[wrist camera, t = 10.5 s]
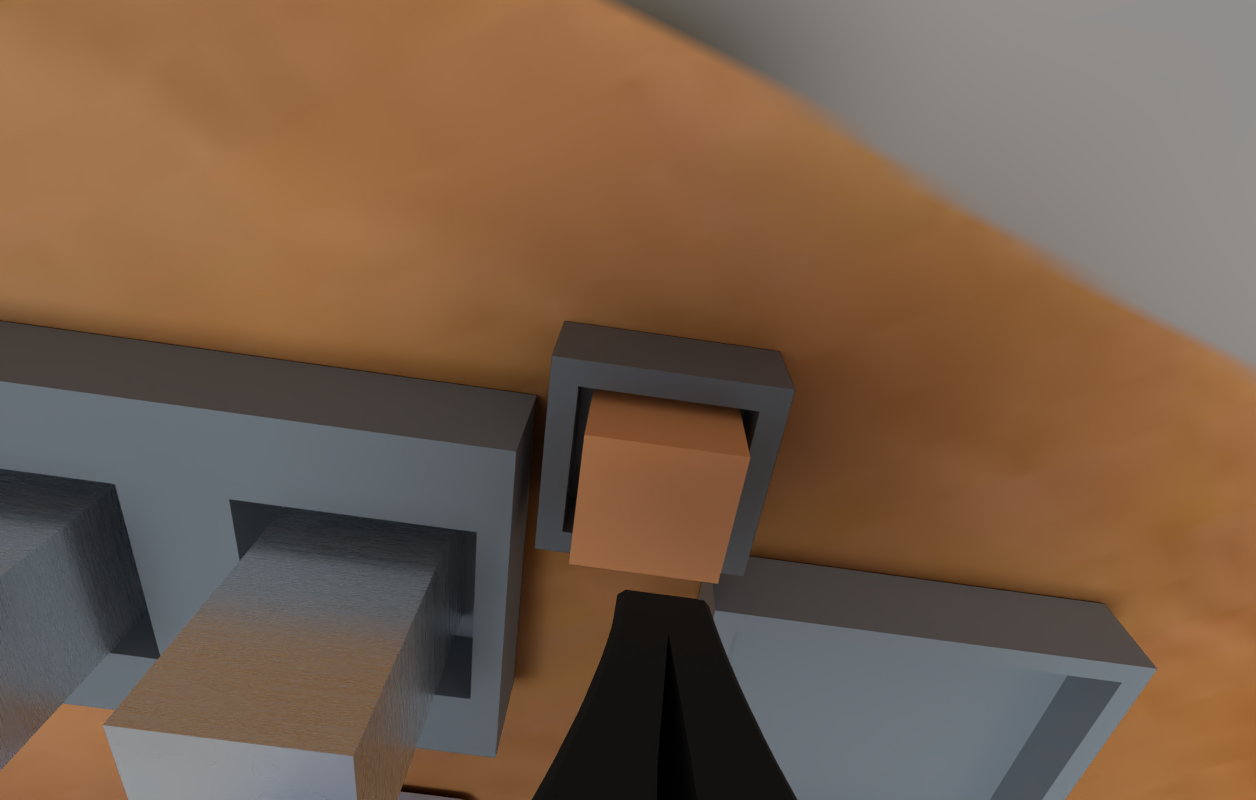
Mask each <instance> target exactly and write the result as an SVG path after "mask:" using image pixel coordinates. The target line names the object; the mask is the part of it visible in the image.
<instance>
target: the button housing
mask: <svg viewBox="0 0 1256 800" xmlns="http://www.w3.org/2000/svg"><path fill="white" fill-rule="evenodd" d="M594 389H601V390H608V391H616V392H623V393H630V394H637V395H644V396H652V397H659V398H666V399H673V400H680V401H688V402H695V403H702V404H709V405H716V406H724V407H731V408H738V409H740V413H741V418H742V422H743V426H744V431H745V435H746V440H747V444H748V449H749V453H750V461H749V465H748V469H747V473H746V477H745V481H744V485H743V489H742V493H741V496H740V500H739V504H738V508H737V512H736V516H735V520H734V524H733V528H732V531H731V535H730V539H729V543H728V547H727V551H726V555H725V559H724V563H723V566H722V570H721V573H723V574H731V575H738V576H744V573H745V569H746V565H747V562H748V558H749V555H750V551H751V547H752V544H753V540H754V537H755V533H756V530H757V526H758V522H759V519H760V515H761V512H762V508H763V504H764V501H765V497H766V494H767V490H768V486H769V483H770V479H771V476H772V472H773V468H774V465H775V461H776V458H777V454H778V450H779V447H780V443H781V440H782V436H783V432H784V429H785V425H786V422H787V418H788V414H789V411H790V407H791V404H792V400H793V397H794V393H795V388H794V385H793V383H792V380H791V378H790V376H789V373H788V371H787V368H786V366H785V363H784V361H783V358H782V356H781V353H780V352H779V351H772V350H765V349H758V348H751V347H744V346H737V345H730V344H723V343H716V342H709V341H702V340H694V339H687V338H680V337H673V336H666V335H659V334H652V333H645V332H638V331H631V330H624V329H617V328H609V327H602V326H595V325H588V324H581V323H574V322H567V321H564V324H563V326H562V329H561V332H560V335H559V337H558V340H557V343H556V346H555V349H554V351H553V354H552V360H551V371H550V382H549V394H548V405H547V416H546V427H545V439H544V450H543V461H542V472H541V484H540V495H539V506H538V517H537V529H536V540H535V548H536V549H543V550H551V551H558V552H566V553H570V551H571V543H572V534H573V526H574V518H575V509H576V501H577V493H578V484H579V476H580V468H581V459H582V451H583V443H584V435H585V430H586V425H587V420H588V415H589V410H590V405H591V400H592V395H593V390H594Z"/></svg>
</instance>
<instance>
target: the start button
mask: <svg viewBox="0 0 1256 800" xmlns="http://www.w3.org/2000/svg"><path fill="white" fill-rule="evenodd" d="M749 461H750V453H749V449H748V444H747V440H746V435H745V431H744V426H743V422H742V418H741V413H740V409H738V408H731V407H724V406H716V405H709V404H702V403H695V402H688V401H680V400H673V399H666V398H659V397H652V396H644V395H637V394H630V393H623V392H616V391H608V390H601V389H594V390H593V395H592V400H591V405H590V410H589V415H588V420H587V425H586V430H585V435H584V443H583V451H582V459H581V468H580V476H579V484H578V493H577V501H576V509H575V518H574V526H573V534H572V543H571V551H570V559H569V564H572V565H580V566H588V567H595V568H603V569H610V570H618V571H625V572H633V573H640V574H648V575H655V576H663V577H670V578H678V579H685V580H693V581H700V582H708V583H715V584H718V582H719V578H720V574H721V570H722V566H723V563H724V559H725V555H726V551H727V547H728V543H729V539H730V535H731V531H732V528H733V524H734V520H735V516H736V512H737V508H738V504H739V500H740V496H741V493H742V489H743V485H744V481H745V477H746V473H747V469H748V465H749Z"/></svg>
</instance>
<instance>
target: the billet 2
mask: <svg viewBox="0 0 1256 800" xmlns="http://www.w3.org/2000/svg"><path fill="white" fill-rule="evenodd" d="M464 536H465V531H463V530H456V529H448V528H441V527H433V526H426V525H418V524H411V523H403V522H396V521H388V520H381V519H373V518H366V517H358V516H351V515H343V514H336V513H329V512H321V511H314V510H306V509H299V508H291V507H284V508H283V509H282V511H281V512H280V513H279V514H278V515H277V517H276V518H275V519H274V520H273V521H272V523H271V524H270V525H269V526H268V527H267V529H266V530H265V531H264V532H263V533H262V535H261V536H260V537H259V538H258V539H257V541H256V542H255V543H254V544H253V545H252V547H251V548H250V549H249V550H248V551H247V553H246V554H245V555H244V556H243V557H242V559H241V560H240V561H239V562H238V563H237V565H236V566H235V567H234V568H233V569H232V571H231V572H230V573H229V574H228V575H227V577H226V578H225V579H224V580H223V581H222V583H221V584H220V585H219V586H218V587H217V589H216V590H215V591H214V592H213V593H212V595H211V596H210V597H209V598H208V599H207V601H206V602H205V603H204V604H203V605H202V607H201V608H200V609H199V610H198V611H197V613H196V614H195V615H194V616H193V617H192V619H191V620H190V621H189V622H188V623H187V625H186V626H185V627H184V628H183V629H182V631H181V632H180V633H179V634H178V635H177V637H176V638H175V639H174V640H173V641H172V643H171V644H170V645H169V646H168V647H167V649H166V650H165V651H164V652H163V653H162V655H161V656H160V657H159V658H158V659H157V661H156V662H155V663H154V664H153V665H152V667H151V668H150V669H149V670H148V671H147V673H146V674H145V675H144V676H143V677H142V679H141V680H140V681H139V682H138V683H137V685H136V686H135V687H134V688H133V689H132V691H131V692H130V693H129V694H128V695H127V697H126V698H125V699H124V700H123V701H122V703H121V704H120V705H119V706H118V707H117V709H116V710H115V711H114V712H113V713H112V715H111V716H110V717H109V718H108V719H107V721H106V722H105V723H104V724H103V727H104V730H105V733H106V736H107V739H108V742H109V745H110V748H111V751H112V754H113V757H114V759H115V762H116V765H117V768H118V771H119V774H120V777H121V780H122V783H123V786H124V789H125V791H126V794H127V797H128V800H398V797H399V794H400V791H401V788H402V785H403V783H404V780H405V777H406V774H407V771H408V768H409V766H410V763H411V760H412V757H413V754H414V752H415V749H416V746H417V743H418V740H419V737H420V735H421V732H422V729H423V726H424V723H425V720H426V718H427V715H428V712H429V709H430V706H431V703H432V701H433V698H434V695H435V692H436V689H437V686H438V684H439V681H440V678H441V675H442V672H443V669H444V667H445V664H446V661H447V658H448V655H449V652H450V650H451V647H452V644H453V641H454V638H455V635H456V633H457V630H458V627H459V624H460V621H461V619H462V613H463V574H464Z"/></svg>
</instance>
